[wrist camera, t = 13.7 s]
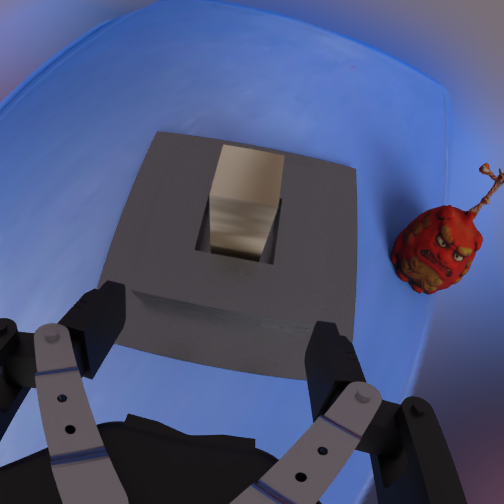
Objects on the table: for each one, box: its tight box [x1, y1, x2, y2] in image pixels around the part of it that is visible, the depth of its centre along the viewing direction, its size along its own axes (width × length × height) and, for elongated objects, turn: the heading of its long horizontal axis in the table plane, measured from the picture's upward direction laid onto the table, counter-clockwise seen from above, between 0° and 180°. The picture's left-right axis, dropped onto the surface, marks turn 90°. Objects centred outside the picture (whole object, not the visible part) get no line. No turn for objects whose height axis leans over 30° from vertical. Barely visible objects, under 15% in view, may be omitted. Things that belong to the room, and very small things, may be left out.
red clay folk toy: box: [391, 163, 504, 294], centre depth 23 cm, size 8×7×15 cm
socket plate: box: [97, 131, 357, 381], centre depth 26 cm, size 22×22×4 cm
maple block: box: [209, 144, 284, 262], centre depth 23 cm, size 4×4×10 cm
